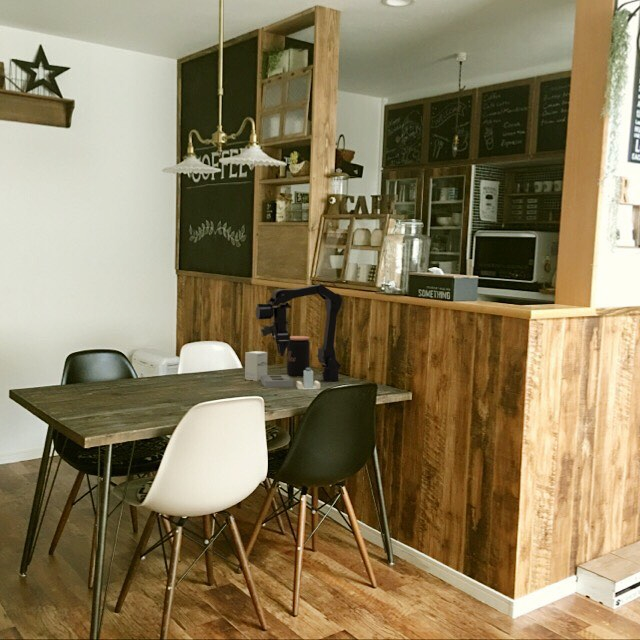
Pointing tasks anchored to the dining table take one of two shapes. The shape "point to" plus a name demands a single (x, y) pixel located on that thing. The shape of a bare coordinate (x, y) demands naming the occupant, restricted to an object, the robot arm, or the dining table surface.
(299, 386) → the holster
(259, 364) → the supplement box
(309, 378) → the plug
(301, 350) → the coffee jar
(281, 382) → the port panel
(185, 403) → the dining table surface
